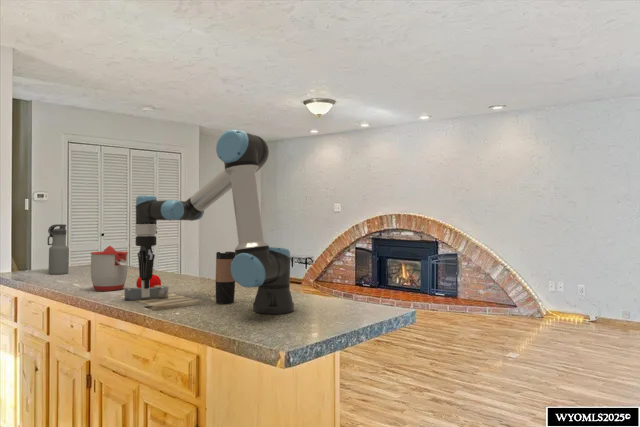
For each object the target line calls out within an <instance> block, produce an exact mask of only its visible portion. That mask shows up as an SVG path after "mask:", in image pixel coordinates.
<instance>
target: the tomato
mask: <svg viewBox="0 0 640 427" xmlns="http://www.w3.org/2000/svg"><path fill="white" fill-rule="evenodd" d="M154 285H161V286H162V281H161V277H160V276H159V275H157V274H154V273H152V279H150V287H154ZM135 286H136V288H142V281H141V278H140V277H139V276H138V277H137V279H136V284H135Z"/></svg>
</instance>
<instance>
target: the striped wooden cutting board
mask: <svg viewBox="0 0 640 427" xmlns="http://www.w3.org/2000/svg"><path fill="white" fill-rule="evenodd" d="M117 296H118V297H120V298H124V294H121V295H120V294H119V295H117ZM134 301H135V302H138V303H142V304H146V305H148V306H144V308H146V309H150V310H153V311H156V312H157V311H164V310H171V309H176V308H177V309H178V308H183V307H190V306H197V305H200V304H201V300H200V299H196V298H192V297H187V296H183V295H178V294H174V293H171V292H168V298H164V299H139V300H134Z"/></svg>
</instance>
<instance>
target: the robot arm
mask: <svg viewBox="0 0 640 427" xmlns="http://www.w3.org/2000/svg"><path fill="white" fill-rule="evenodd" d="M215 150H216V154H217V158H219V160H220V161H221V162H223V164H224V168H223V169H222V170H221V171H220V172H219V173H218V174H216V175H215V176H214V177H212V179H210V180H209V181H208V182H207V183H206V184H205V185H203V186H201V188H200V189H199V190H197V191H196V192H195V193H194V194H193V195H192V196H190V197H189V198H188V199H186V200H185V201H183V200H176V199H175V200H174V199H168V200H157V198H158V197H157V196H156V195H138V196H137V197H136V198H135V199H136V200H135V206H134V207H135V232H134V233H135V235H136V236H135V246H136V247H140V248H139V251H138V252H137V259H138V260H137V261H138V275H139V276H138V278H139V277H140V278H141V281H142V288H141V297H150V279H152V274H154V272H153V270H154V261H155V257H156V255H155V254H153V253H154V252H153V247H155V246H157V236H156V235H157V230H158V226H157V221H190V222H192V221H194V222H195V221H198V220H201V219H202V218H203V216H204V214H205V211H206V210H207V209H208V208H209V207H210V206H211V205H213V204H214V203H215V202H217V201H218V200H219V199H221V197H223V196H224V195H225V194H227V193H228V192H229V191H230V190H231V192H232V193H231V194H232V200H233V208H234V209H233V210H234V216H235V217H234V219H235V224H236V233H237V240H238V244H237V246H236V247H235V248H234V252H235V258H234V259H233V261H232V262H231V274H232V277H233V279H234V280H235V283H237V285H239V286H240V287H243V288H246V289H248V288H249V289H251V288H257V291H256V295H255V298H254V302H253V304H252V311H253V312H255V313H259V314H267V315H275V314H276V315H279V314H280V315H281V314H288V313H292V312H294V310H295V302H293V296H292V293H291V290H290V289H291V288H290V284H291V260H292V259H291V252H290V249H289V248H285V247H276V246H275V247H274V246H269V244H268V243H267V242H265V240H264V234H263V233H264V232H263V227H262V226H263V224H262V218H261V211H260V201H259V194H258V187H257V186H258V184H257V179H256V178H257V176H256V173H257V172H258V171H260V169H261V168H263V166H264V165H265V164H266V162H267V161H268V158H269V155H270V154H269V152H270V149H269V145H268V143H267V142H266V140H264V139H263V137H261V136H258V135H255V134H252V133H249V132H246V131H244V130H242V129H234V128H233V129H228V130H226V131H224V132H223V133H222V134H221V135H220V137H219V138H218V139H217V142H216V146H215Z"/></svg>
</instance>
